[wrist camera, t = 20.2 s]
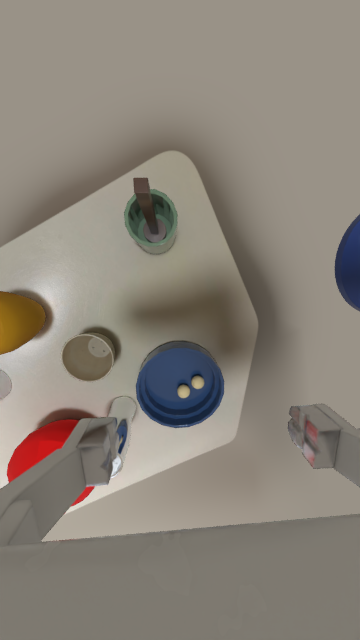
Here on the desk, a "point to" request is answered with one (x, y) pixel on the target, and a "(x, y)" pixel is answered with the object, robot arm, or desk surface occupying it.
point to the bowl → (168, 374)
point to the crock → (163, 212)
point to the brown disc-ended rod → (148, 211)
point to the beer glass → (122, 428)
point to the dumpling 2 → (197, 382)
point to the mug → (4, 385)
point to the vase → (42, 449)
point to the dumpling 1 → (183, 391)
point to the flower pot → (88, 357)
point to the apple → (18, 320)
